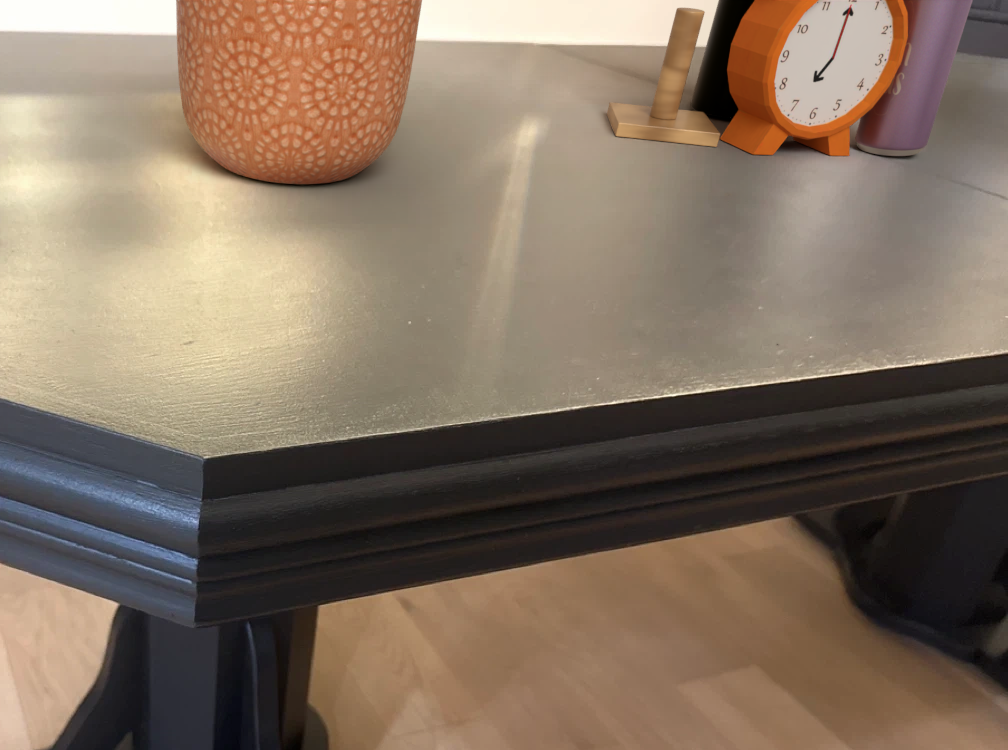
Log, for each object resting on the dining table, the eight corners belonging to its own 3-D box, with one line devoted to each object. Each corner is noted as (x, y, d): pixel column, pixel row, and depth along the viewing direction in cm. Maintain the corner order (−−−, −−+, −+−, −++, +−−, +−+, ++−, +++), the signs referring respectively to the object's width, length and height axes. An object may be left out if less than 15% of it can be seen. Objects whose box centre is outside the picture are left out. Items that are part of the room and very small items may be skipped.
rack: (700, 124, 100) (733, 7, 94) (716, 147, 92) (753, 21, 86) (606, 115, 100) (633, -2, 95) (615, 136, 93) (645, 11, 87)
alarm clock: (740, 156, 90) (824, -114, 78) (702, 138, 95) (776, -118, 83) (868, 157, 93) (967, -102, 81) (825, 140, 98) (912, -108, 86)
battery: (683, 114, 103) (747, -122, 92) (694, 102, 108) (756, -122, 97) (757, 126, 101) (832, -115, 89) (765, 114, 106) (837, -115, 95)
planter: (226, 209, 68) (235, -55, 59) (143, 142, 80) (140, -84, 71) (443, 193, 74) (479, -47, 66) (335, 133, 87) (354, -75, 78)
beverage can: (939, 151, 94) (1000, -36, 85) (893, 160, 92) (951, -30, 83) (883, 137, 98) (935, -42, 90) (838, 146, 96) (887, -36, 88)
